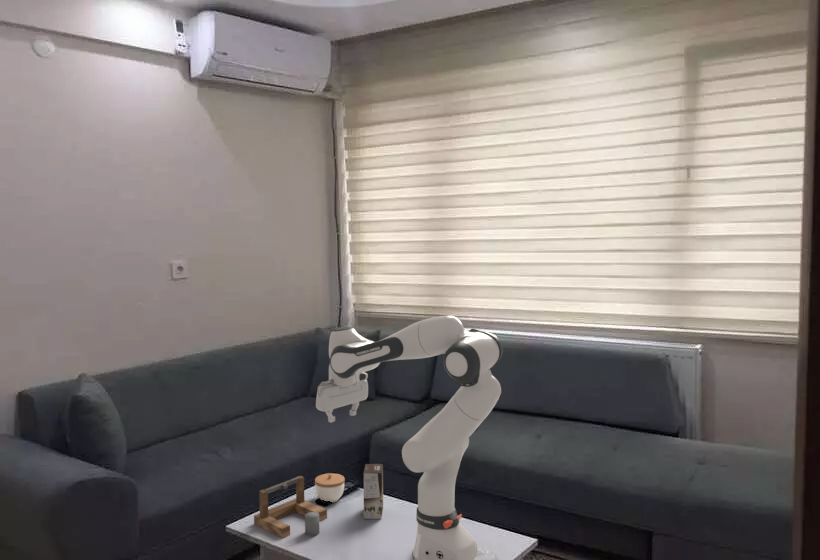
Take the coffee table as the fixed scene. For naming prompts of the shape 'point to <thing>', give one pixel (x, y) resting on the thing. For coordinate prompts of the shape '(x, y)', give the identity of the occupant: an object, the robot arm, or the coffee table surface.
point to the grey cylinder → (312, 524)
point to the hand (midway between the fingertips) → (342, 418)
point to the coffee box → (373, 491)
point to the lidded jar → (329, 486)
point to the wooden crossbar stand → (284, 508)
